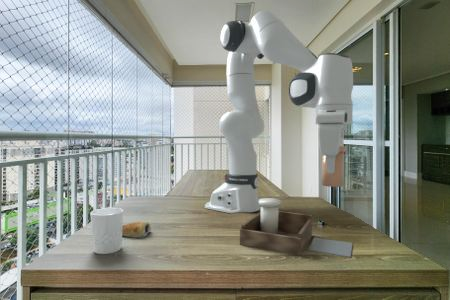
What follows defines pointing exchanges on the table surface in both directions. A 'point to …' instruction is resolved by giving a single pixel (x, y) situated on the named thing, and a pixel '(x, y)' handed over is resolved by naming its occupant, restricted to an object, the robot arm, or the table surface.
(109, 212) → the white cup
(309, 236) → the wooden tray
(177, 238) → the table surface
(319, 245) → the slate tile
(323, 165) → the peach mushroom knob
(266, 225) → the white glossy domed part
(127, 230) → the pastry
